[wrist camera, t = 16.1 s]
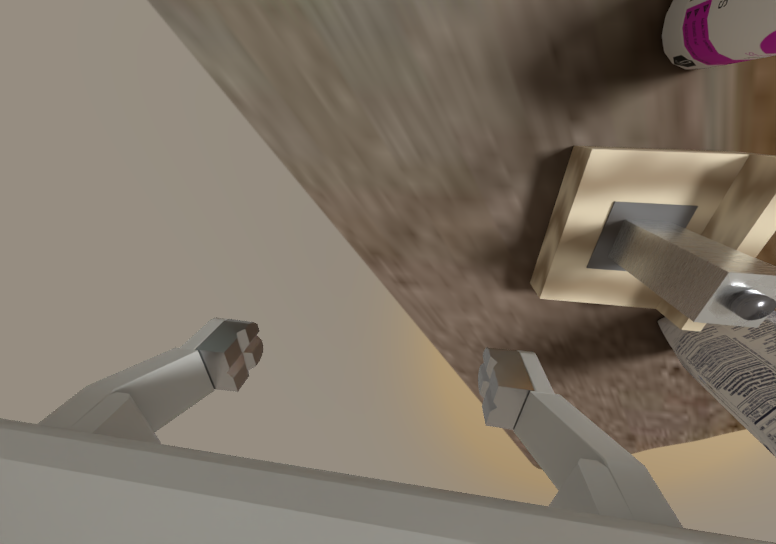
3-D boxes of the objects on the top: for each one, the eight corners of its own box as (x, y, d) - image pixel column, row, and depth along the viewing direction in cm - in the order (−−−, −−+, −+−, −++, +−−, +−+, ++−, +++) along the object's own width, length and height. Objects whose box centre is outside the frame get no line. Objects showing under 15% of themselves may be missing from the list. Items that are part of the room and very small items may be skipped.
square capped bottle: (624, 219, 30) (743, 279, 19) (669, 221, 30) (818, 285, 18) (607, 256, 32) (704, 330, 21) (649, 259, 32) (771, 336, 21)
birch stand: (573, 145, 31) (615, 153, 24) (733, 151, 29) (827, 161, 22) (529, 283, 40) (551, 317, 33) (650, 292, 38) (700, 331, 31)
